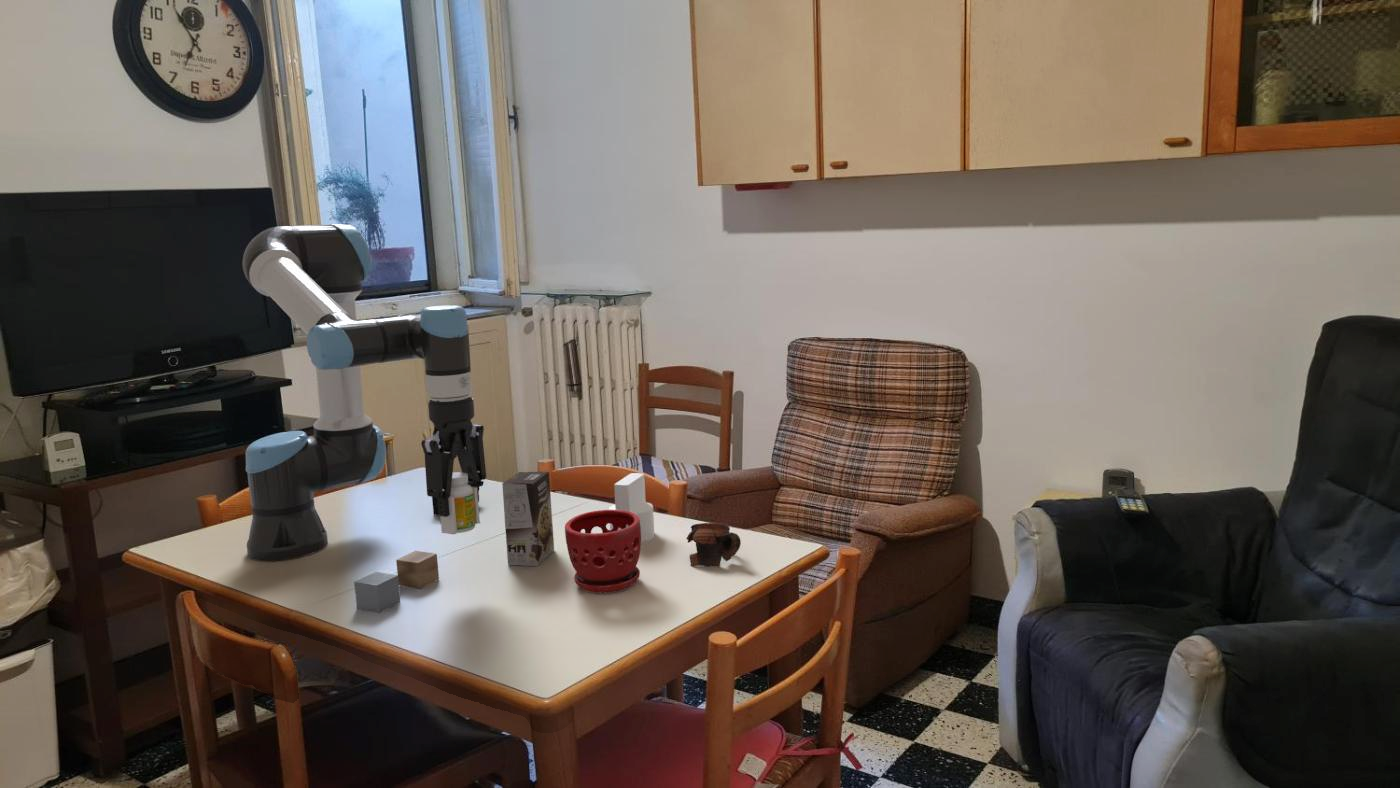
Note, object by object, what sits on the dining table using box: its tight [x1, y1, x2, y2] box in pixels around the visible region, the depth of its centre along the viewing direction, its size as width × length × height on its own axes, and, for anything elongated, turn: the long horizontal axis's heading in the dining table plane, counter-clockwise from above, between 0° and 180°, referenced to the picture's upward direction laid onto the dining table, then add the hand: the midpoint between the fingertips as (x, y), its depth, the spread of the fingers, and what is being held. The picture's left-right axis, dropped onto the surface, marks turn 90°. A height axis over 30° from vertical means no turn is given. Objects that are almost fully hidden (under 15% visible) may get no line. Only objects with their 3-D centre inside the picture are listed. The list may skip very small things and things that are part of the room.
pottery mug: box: [686, 522, 742, 568], centre depth 180 cm, size 12×10×8 cm
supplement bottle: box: [443, 471, 476, 534], centre depth 167 cm, size 5×5×10 cm
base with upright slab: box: [608, 472, 655, 543], centre depth 195 cm, size 9×9×12 cm
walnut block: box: [395, 550, 440, 590], centre depth 174 cm, size 5×5×5 cm
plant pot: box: [564, 509, 642, 594], centre depth 169 cm, size 13×13×12 cm
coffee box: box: [502, 471, 555, 567], centre depth 184 cm, size 9×6×16 cm
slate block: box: [353, 571, 401, 614], centre depth 164 cm, size 5×5×5 cm
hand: (461, 527), depth 168 cm, fingers closed on supplement bottle, 5 cm apart
